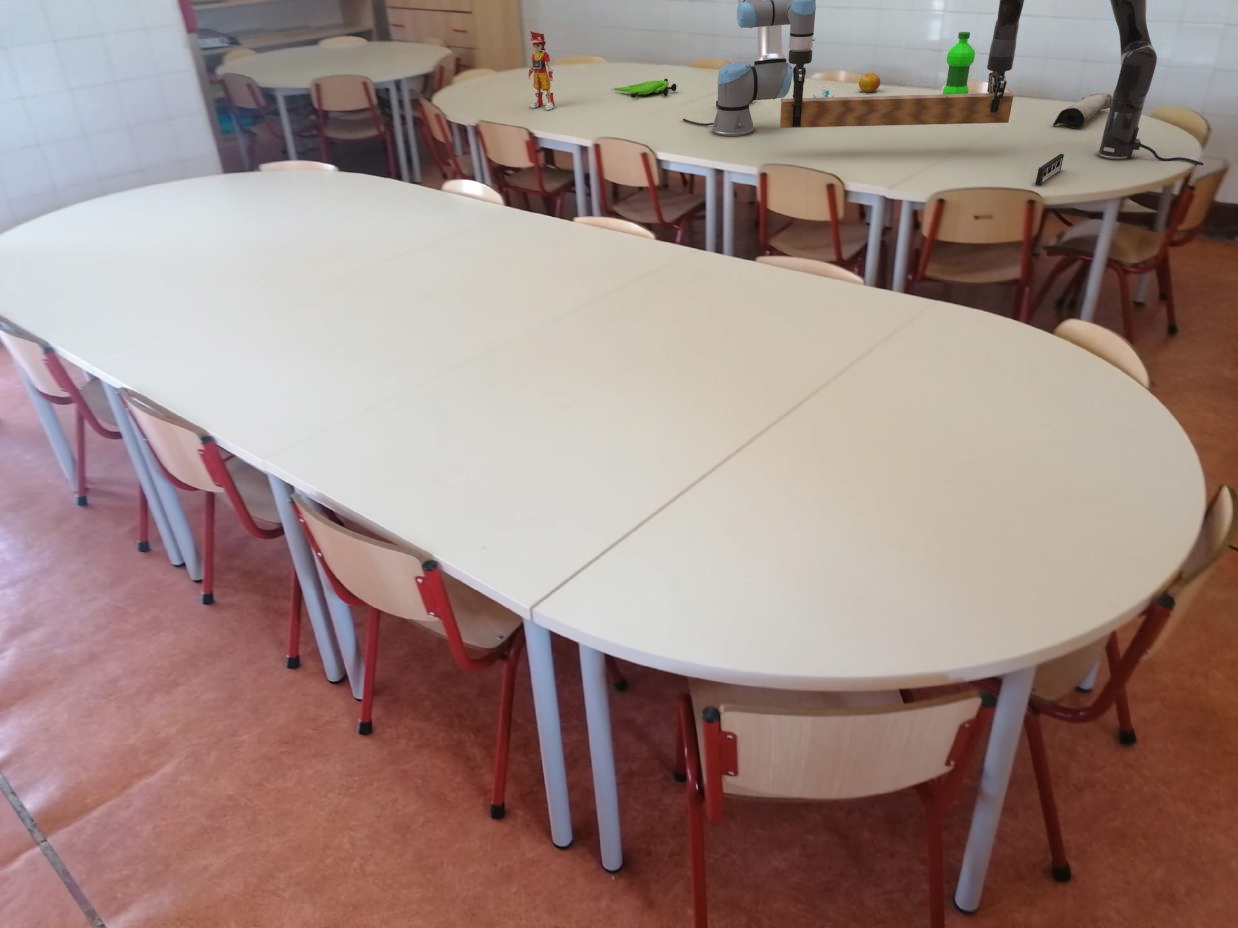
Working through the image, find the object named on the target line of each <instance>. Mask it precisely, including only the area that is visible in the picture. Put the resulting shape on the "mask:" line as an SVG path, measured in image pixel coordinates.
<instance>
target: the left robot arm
mask: <svg viewBox="0 0 1238 928" xmlns="http://www.w3.org/2000/svg"><path fill="white" fill-rule="evenodd" d="M737 2H738V5H737V8H736V20H737V25H738V27H740V28H741V29H743V28H744V29H747V28H748V29H753V28H757V56H756V58H755V59H754V61H753V66H752V65H751V63H750V62H748V61H739V62H737V61H736V62H732V63H727V64H726V65H723V66H722V67H720V69H719V70H718V75H717V100H718V107H717V111H716V114H715V118H714V120H713V122H707V123H705V122H698V121H697V122H696V121H692V120H689V119H686V118H682V121H683V122H687V123H690V124H694V125H698V126H712V133H713V134H715V135H717V136H721V137H741V136H746V135H750V134H752V133H754V122H753V118H752V115H751V111H750V103H749V102H750V101H753V102H754V101H766V100H767V101H768V100H776V99H784V98H785V97H786V96H787V95H788V93H789V92H790V89H791V85H792V81H793V88H792V89H793V91H792V98H794V105H792V107H793V122H792V127H795V126H801V112H802V105H803V103H802V100H803V98H804V85H805V81H806V75H807V69H806V67H805V65H808V64H811V63H812V62H813V50H812V49H813V47H814V42H815V41H816V37H814V33H815V22H816V21H815V20H816V11H817V0H737ZM786 25H788V26H789V25H790V28H789V41H788V49H789V50H788V60H787V57H786V56H785V54H784V53H783V27H782V26H786ZM787 61H788V62H787ZM792 65H794V67H792Z"/></svg>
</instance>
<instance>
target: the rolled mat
mask: <svg viewBox="0 0 1238 928" xmlns="http://www.w3.org/2000/svg"><path fill="white" fill-rule="evenodd" d="M1112 97H1113V95H1112V94H1110V93H1103V92H1100V93H1093V94H1087V95H1085V96H1083V97H1081V100H1079V101H1077V102H1075V103H1073V104H1071V105H1069V106H1067V107H1066V108H1064V109H1062V110H1061V111H1060V112H1059V114H1058V115H1057V117H1056V119H1055V120H1054V121H1053V124H1052V126H1053V127H1055V126H1057V125H1064V126H1066V128H1071V129H1080V128H1082V127H1083V126H1084V125H1085V124H1086V123H1087V122H1088V121H1089V120H1090V119H1091V118H1092V117H1094V116H1095V115H1096V114H1097V113H1098V112H1099V111H1102V110H1107V109H1110V105H1111V101H1112Z"/></svg>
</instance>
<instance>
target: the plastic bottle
mask: <svg viewBox="0 0 1238 928" xmlns="http://www.w3.org/2000/svg"><path fill="white" fill-rule="evenodd" d="M970 36H971V32H970V31H959V32H958V36H957V39H958V42H957V43H956V44H954V45H953V46H952V47H951V48H950V49H949V50H948V52H947V54H946V63H947V64H948V69H947V70H948V71H947V76H946V77H947V78H946V84H945V85H944V87H943V90H942V94H969V85H968V79H969V73H970V67H971V65H972V64H973V63H974V61H975V57H976V51H975V49H974V47H972V45H971V44H970V43H969V42H968V41H969V39H970V38H971V37H970Z"/></svg>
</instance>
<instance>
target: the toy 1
mask: <svg viewBox="0 0 1238 928" xmlns="http://www.w3.org/2000/svg"><path fill="white" fill-rule="evenodd" d="M529 33H530V35H531V36H528V37H527V38H528V39H529V40H528V41H527V43H529V44H530V43H531V44H532V48H533V50H534V51H533V52H532V55H531V58H530V59H531V63H530V66H528V74H527V75H528V76H527V77H528V79H529V80H531V75H532V74H533V84H532V85H533V86H532V87H533V88H534V89H535V90H536V92H534V95H535V97H536V100H535V101H533V102H531V105H530V108H531V109H535V108H538V107H542V106H544V101H543V100H544V99H543V95H544V92H546V94H545V97H546V99H547V103H546V104H545V106H544V110H546V111H549V110H553V109H554V107H555V106H556V105H555V99H554V92H551V91H550V90H551V86H552V84H551V82H552V81H553V80H554V77H553V73H554V71H555V70H554V69H552V68H551V63H550V61H551V59H550V58H551V57H550V54H549V53H548V52H547V50H546V48H545V46H546V44H547V41H545V35H544V33H543V32H542V33H539V32H535V31H529Z"/></svg>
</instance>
